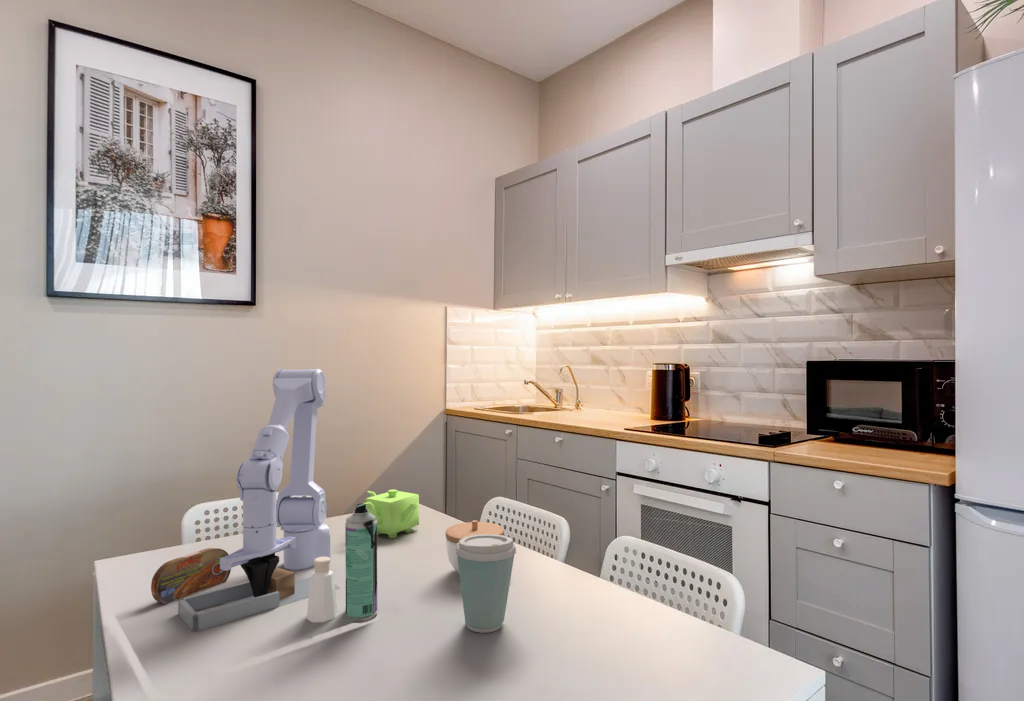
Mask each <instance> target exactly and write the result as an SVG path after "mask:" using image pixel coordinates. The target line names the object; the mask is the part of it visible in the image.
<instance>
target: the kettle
mask: <svg viewBox="0 0 1024 701" xmlns="http://www.w3.org/2000/svg"><path fill="white" fill-rule="evenodd" d="M366 492H367V493H368V494H369V497H366V498H365V502H363V503H364V504H366V509H367V510H369V513H371V514H372V515H375V516H376V520H377V536H378V535H382V534H385V535H388V536H387V537H388V538H389V539H395V538H398V533H400V532H403V533H406V534H407V533H408V534H409V533H411V532H412V529H411V528H413V527H417V526H419V524H420V510H419V509H420V508H419V506H420V502H419V501H420V496H419V494H417V493H412V492H406V491H402V490H401V491H400V490H397V489H389V490H387V492H384V493H380V494H376V492H374V491H372V490H367V491H366Z"/></svg>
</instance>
